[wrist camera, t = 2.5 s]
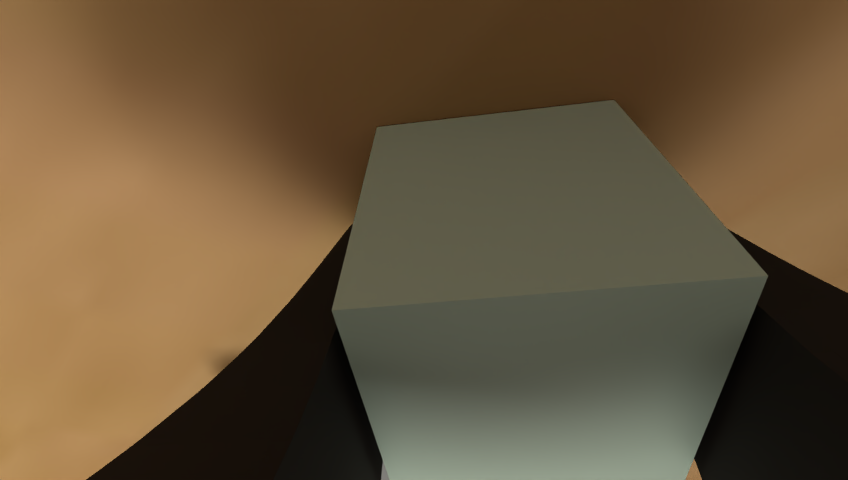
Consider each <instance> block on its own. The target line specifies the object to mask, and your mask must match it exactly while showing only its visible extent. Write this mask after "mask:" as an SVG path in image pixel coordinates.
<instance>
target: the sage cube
mask: <svg viewBox="0 0 848 480" xmlns="http://www.w3.org/2000/svg"><path fill="white" fill-rule="evenodd" d="M767 278H768V275H767V274H766V273H765V271H764V270H763V269H762V268H761V267H760V266H759V265H758V263H757V262H756V261H755V260H754V259H753V258H752V257H751V255H750V254H749V253H748V252H747V251H746V250H745V249H744V247H743V246H742V245H741V244H740V243H739V242H738V241H737V239H736V238H735V237H734V236H733V235H732V234H731V233H730V231H729V230H728V229H727V228H726V227H725V226H724V225H723V223H722V222H721V221H720V220H719V219H718V218H717V217H716V215H715V214H714V213H713V212H712V211H711V210H710V209H709V208H708V206H707V205H706V204H705V203H704V202H703V201H702V200H701V198H700V197H699V196H698V195H697V194H696V193H695V192H694V190H693V189H692V188H691V187H690V186H689V185H688V184H687V182H686V181H685V180H684V179H683V178H682V177H681V176H680V174H679V173H678V172H677V171H676V170H675V169H674V168H673V166H672V165H671V164H670V163H669V162H668V161H667V160H666V158H665V157H664V156H663V155H662V154H661V153H660V152H659V150H658V149H657V148H656V147H655V146H654V145H653V144H652V142H651V141H650V140H649V139H648V138H647V137H646V136H645V134H644V133H643V132H642V131H641V130H640V129H639V128H638V126H637V125H636V124H635V123H634V122H633V121H632V120H631V118H630V117H629V116H628V115H627V114H626V113H625V112H624V110H623V109H622V108H621V107H620V106H619V105H618V104H617V102H616V101H615V100H608V101H599V102H591V103H582V104H573V105H564V106H556V107H547V108H538V109H530V110H521V111H512V112H503V113H495V114H486V115H477V116H469V117H460V118H451V119H442V120H434V121H425V122H416V123H408V124H399V125H390V126H381V127H377V129H376V133H375V137H374V141H373V145H372V149H371V153H370V157H369V161H368V165H367V169H366V173H365V178H364V182H363V186H362V190H361V194H360V198H359V202H358V206H357V210H356V214H355V218H354V222H353V226H352V230H351V234H350V238H349V242H348V246H347V250H346V255H345V259H344V263H343V267H342V271H341V275H340V279H339V283H338V287H337V291H336V295H335V299H334V303H333V307H332V313H333V316H334V319H335V322H336V325H337V328H338V331H339V333H340V336H341V339H342V342H343V345H344V348H345V351H346V354H347V357H348V360H349V363H350V366H351V369H352V371H353V374H354V377H355V380H356V383H357V386H358V389H359V392H360V395H361V398H362V401H363V404H364V407H365V409H366V412H367V415H368V418H369V421H370V424H371V427H372V430H373V433H374V436H375V439H376V442H377V445H378V448H379V450H380V453H381V456H382V459H383V462H384V465H385V468H386V471H387V474H388V477H389V480H685V479H686V476H687V474H688V471H689V469H690V467H691V464H692V462H693V459H694V457H695V454H696V452H697V449H698V447H699V444H700V442H701V440H702V437H703V435H704V432H705V430H706V427H707V425H708V422H709V420H710V417H711V415H712V413H713V410H714V408H715V405H716V403H717V400H718V398H719V395H720V393H721V391H722V388H723V386H724V383H725V381H726V378H727V376H728V373H729V371H730V368H731V366H732V364H733V361H734V359H735V356H736V354H737V351H738V349H739V346H740V344H741V341H742V339H743V337H744V334H745V332H746V329H747V327H748V324H749V322H750V319H751V317H752V315H753V312H754V310H755V307H756V305H757V302H758V300H759V297H760V295H761V292H762V290H763V288H764V285H765V283H766V280H767Z"/></svg>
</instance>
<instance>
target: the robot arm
mask: <svg viewBox="0 0 848 480" xmlns="http://www.w3.org/2000/svg"><path fill="white" fill-rule="evenodd" d="M352 226H353V224H352V225H351V226H350V227H349V228H348V230H347V231H346V232H345V233H344V235H343V236H342V237H341V238H340V240H339V241H338V242H337V243H336V245H335V246H334V247H333V249H332V250H331V251H330V252H329V254H328V255H327V256H326V258H325V259H324V260H323V261H322V263H321V264H320V265H319V266H318V268H317V269H316V270H315V272H314V273H313V274H312V275H311V276H310V278H309V279H308V280H307V281H306V282H305V284H304V285H303V286H302V287H301V288H300V290H299V291H298V292H297V293H296V295H295V296H294V297H293V298H292V299H291V300H290V302H289V303H288V304H287V305H286V306H285V307H284V308H283V309H282V310H281V312H280V313H279V314H278V315H277V316H276V317H275V318H274V319H273V320H272V321H271V323H270V324H269V325H268V326H267V327H266V328H265V329H264V330H263V331H262V332H261V334H260V335H259V336H258V337H257V338H256V339H255V340H254V341H253V342H252V343H251V344H250V345H249V346H248V347H247V348H246V349H245V350H244V351H243V352H242V353H241V354H239V355H238V356H237V357H236V358H235V359H234V360H233V361H232V362H231V363H230V364H229V365H228V366H227V367H226V368H225V369H223V370H222V371H221V372H220V373H219V374H218V375H217V376H216V377H215V378H214V379H213V380H211V381H210V382H209V383H208V384H207V385H206V386H205V387H204V388H202V389H201V390H200V391H199V392H198V393H197V394H195V395H194V396H193V397H192V398H191V399H189V400H188V401H187V402H186V403H184V404H183V405H182V406H181V407H180V408H178V409H177V410H176V411H175V412H173V413H172V414H171V415H170V416H169V417H167V418H166V419H165V420H164V421H162V422H161V423H160V424H159V425H157V426H156V427H155V428H154V429H153V430H151V431H150V432H149V433H148V434H146V435H145V436H144V437H143V438H142V439H140V440H139V441H138V442H136V443H135V444H134V445H133V446H131V447H130V448H129V449H127V450H126V451H125V452H123V453H122V454H120V455H119V456H118V457H116V458H115V459H114V460H112V461H111V462H110V463H108V464H107V465H106V466H104V467H103V468H102V469H100V470H99V471H98V472H96V473H95V474H93V475H92V476H91V477H89V478H88V479H86V480H381V475H382V465H383V459H382V456H381V453H380V450H379V448H378V445H377V442H376V439H375V436H374V433H373V430H372V427H371V424H370V421H369V418H368V415H367V412H366V409H365V407H364V404H363V401H362V398H361V395H360V392H359V389H358V386H357V383H356V380H355V377H354V374H353V371H352V369H351V366H350V363H349V360H348V357H347V354H346V351H345V348H344V345H343V342H342V339H341V336H340V333H339V331H338V328H337V325H336V322H335V319H334V316H333V313H332V307H333V303H334V299H335V295H336V291H337V287H338V283H339V279H340V275H341V271H342V267H343V263H344V259H345V255H346V250H347V246H348V242H349V238H350V234H351V230H352ZM729 231H730V230H729ZM730 233H731V234H732V235H733V236H734V237H735V238H736V239H737V241H738V242H739V243H740V244H741V245H742V246H743V247H744V249H745V250H746V251H747V252H748V253H749V254H750V255H751V257H752V258H753V259H754V260H755V261H756V262H757V263H758V265H759V266H760V267H761V268H762V269H763V270H764V271H765V273H766V274H767V275H768V278H767V280H766V283H765V285H764V288H763V290H762V292H761V295H760V297H759V300H758V302H757V305H756V307H755V310H754V312H753V315H752V317H751V319H750V322H749V324H748V327H747V329H746V332H745V334H744V337H743V339H742V341H741V344H740V346H739V349H738V351H737V354H736V356H735V359H734V361H733V364H732V366H731V368H730V371H729V373H728V376H727V378H726V381H725V383H724V386H723V388H722V391H721V393H720V395H719V398H718V400H717V403H716V405H715V408H714V410H713V413H712V415H711V417H710V420H709V422H708V425H707V427H706V430H705V432H704V435H703V437H702V440H701V442H700V444H699V447H698V449H697V452H696V454H695V457H694V459H695V462H696V464H697V467H698V469H699V472H700V475H701V477H702V480H848V293H846V292H844V291H842V290H840V289H838V288H836V287H834V286H832V285H830V284H828V283H826V282H824V281H822V280H820V279H818V278H816V277H814V276H812V275H810V274H808V273H806V272H805V271H803V270H801V269H799V268H797V267H795V266H793V265H791V264H789V263H788V262H786V261H784V260H782V259H780V258H778V257H776V256H775V255H773V254H771V253H769V252H767V251H766V250H764V249H762V248H760V247H758V246H757V245H755V244H753V243H751V242H749V241H748V240H746V239H744V238H742V237H741V236H739V235H737V234H735V233H734V232H732V231H730Z"/></svg>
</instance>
